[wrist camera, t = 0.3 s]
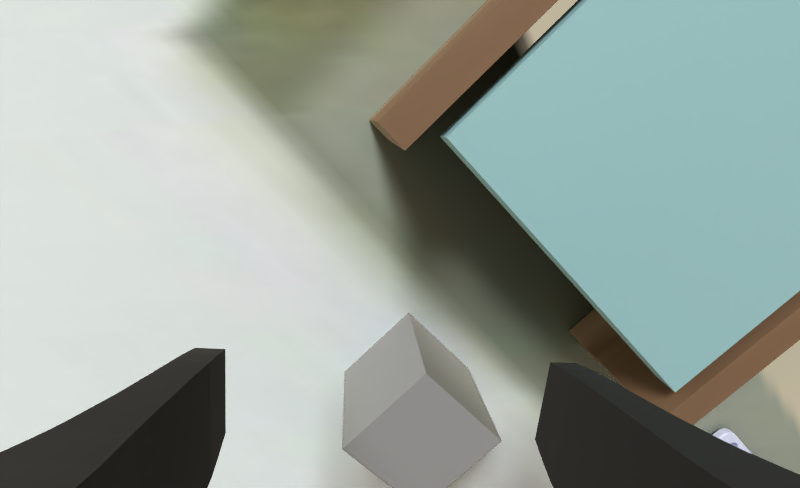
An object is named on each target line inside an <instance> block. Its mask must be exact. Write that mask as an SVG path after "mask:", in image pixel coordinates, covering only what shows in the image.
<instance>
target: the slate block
mask: <svg viewBox="0 0 800 488" xmlns="http://www.w3.org/2000/svg"><path fill="white" fill-rule="evenodd" d="M500 442H501V439H500V437H499V434H498V432H497V430H496V428H495V426H494V423H493V421H492V419H491V417H490V415H489V413H488V410H487V408H486V406H485V404H484V402H483V400H482V397H481V395H480V393H479V391H478V389H477V386H476V384H475V382H474V380H473V378H472V376H471V373H470V371H469V369H468V367H466V366H465V365H464V364H463V363H462V362H461V361H460V360H459V359H458V358H457V357H456V356H455V355H454V354H453V353H451V352H450V351H449V350H448V349H447V348H446V347H445V346H444V345H443V344H442V343H441V342H440V341H439V340H438V339H437V338H435V337H434V336H433V335H432V334H431V333H430V332H429V331H428V330H427V329H426V328H425V327H424V326H423V325H422V324H420V323H419V322H418V321H417V320H416V319H415V318H414V317H413V316H412V315H411V314H410V313H408V314H407V315H406V316H405V317H404V318H403V319H401V320H400V321H399V322H398V323H397V324H396V325H395V326H394V327H393V328H392V329H391V330H390V331H388V332H387V333H386V334H385V335H384V336H383V337H382V338H381V339H380V340H379V341H378V342H377V343H376V344H374V345H373V346H372V347H371V348H370V349H369V350H368V351H367V352H366V353H365V354H364V355H363V356H361V357H360V358H359V359H358V360H357V361H356V362H355V363H354V364H353V365H352V366H351V367H350V368H348V369H347V370H346V371H345V380H344V411H343V441H342V449H343V450H344V451H345V452H347V453H348V454H349V455H350V456H352V457H353V458H354V459H356V460H357V461H358V462H359V463H361V464H362V465H363V466H365V467H366V468H367V469H368V470H370V471H371V472H372V473H374V474H375V475H376V476H377V477H379V478H380V479H381V480H383V481H384V482H385V483H386V484H388V485H389V486H390V487H392V488H447V487H448V486H449V485H451V484H452V483H453V482H454V481H455V480H456V479H458V478H459V477H460V476H461V475H462V474H463V473H465V472H466V471H467V470H468V469H469V468H471V467H472V466H473V465H474V464H475V463H476V462H478V461H479V460H480V459H481V458H482V457H483V456H485V455H486V454H487V453H488V452H489V451H490V450H492V449H493V448H494V447H495V446H496V445H497V444H499V443H500Z"/></svg>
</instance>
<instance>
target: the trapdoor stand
mask: <svg viewBox="0 0 800 488" xmlns="http://www.w3.org/2000/svg"><path fill="white" fill-rule="evenodd" d="M556 2H557V0H488V1H487V2H486V3H485V4H484V5H483V6H482V7H481V8H480V9H479V10H478V11H477V12H476V13H475V14H474V15H473V16H472V17H471V18H470V19H469V20H468V21H467V22H466V23H465V24H464V25H463V26H462V27H461V28H460V29H459V30H458V31H457V32H456V33H455V34H454V35H453V36H452V37H451V38H450V39H449V40H448V41H447V42H446V43H445V44H444V45H443V46H442V47H441V48H440V49H439V50H438V51H437V52H436V53H435V54H434V55H433V56H432V57H431V58H430V59H429V60H428V61H427V62H426V63H425V64H424V65H423V66H422V67H421V68H420V69H419V70H418V71H417V72H416V73H415V74H414V75H413V76H412V77H411V79H410V80H409V81H408V82H407V83H406V84H405V85H404V86H403V87H402V88H401V89H400V90H399V91H398V92H397V93H396V94H395V95H394V96H393V97H392V98H391V99H390V100H389V101H388V102H387V103H386V104H385V105H384V106H383V107H382V108H381V109H380V110H379V111H378V112H377V113H376V114H375V115H374V116H373V117H372V118H371V119H370V121H371V123H372V124H373V125H374V126H375V127H376V128H377V129H378V130H379V131H380V132H381V133H382V134H383V135H384V136H385V137H386V138H387V139H388V140H389V141H391V142H392V143H394V144H395V145H397V146H398V147H400V148H401V149H403V150H404V151H405V150H406V149H407V148H408V147H409V146H410V145H411V144H412V143H413V142H415V141H416V140H417V139H418V138H419V137H420V136H421V135H422V134H423V133H424V132H425V131H426V130H427V129H428V128H429V127H430V126H431V125H432V124H433V123H434V122H435V121H436V120H437V119H438V118H439V117H440V116H441V115H442V114H443V113H444V112H445V111H446V110H447V109H448V108H449V107H450V106H451V105H452V104H453V103H454V102H455V101H456V100H457V99H458V98H459V97H460V96H461V95H462V94H463V93H464V92H465V91H466V90H467V89H468V88H469V87H470V86H471V85H472V84H473V83H474V82H475V81H476V80H477V79H478V78H479V77H480V76H482V75H483V74H484V73H485V72H486V71H487V70H488V69H489V68H490V67H491V66H492V65H493V64H494V63H495V62H496V61H497V60H498V59H499V58H500V57H501V56H502V55H503V54H504V53H505V52H506V51H507V50H508V49H509V48H510V47H511V46H512V45H513V44H514V43H515V42H516V41H517V40H518V39H519V38H520V37H521V36H522V35H523V34H524V33H525V32H526V31H527V30H528V29H529V28H530V27H531V26H532V25H533V24H534V23H535V22H536V21H537V20H538V19H539V18H540V17H541V16H542V15H543V14H544V13H545V12H546V11H547V10H548V9H550V8H551V6H553V5H554V4H555V3H556ZM569 332H570V333H571V334H572V336H573V337H574V338H575V339H576V340H577V341H578V342H579V343H580V344H581V345H582V346H583V347H584V348H585V349H586V350H587V351H588V352H589V353H590V354H591V355H592V356H593V357H594V358H595V359H596V360H597V361H598V362H599V363H600V364H601V365H602V366H603V367H604V368H605V369H606V370H607V371H608V372H609V373H610V374H611V375H612V376H613V377H614V378H615V379H616V380H617V381H618V382H619V383H620V384H621V385H622V386H623V387H624V388H626V389H627V390H629V391H631V392H633V393H635V394H636V395H638V396H640V397H642V398H643V399H645V400H647V401H649V402H651V403H652V404H654V405H656V406H658V407H660V408H662V409H663V410H665V411H667V412H669V413H671V414H673V415H674V416H676V417H678V418H680V419H682V420H684V421H686V422H688V423H689V424H691V425H694V424H695V423H696V422H698V421H699V420H700V419H701V418H703V417H704V416H705V415H706V414H708V413H709V412H710V411H711V410H713V409H714V408H715V407H716V406H717V405H719V404H720V403H721V402H722V401H724V400H725V399H726V398H727V397H729V396H730V395H731V394H732V393H734V392H735V391H736V390H737V389H739V388H740V387H741V386H742V385H744V384H745V383H746V382H747V381H749V380H750V379H751V378H752V377H754V376H755V375H756V374H757V373H759V372H760V371H761V370H762V369H764V368H765V367H766V366H767V365H769V364H770V363H771V362H772V361H773V360H775V359H776V358H777V357H779V356H780V355H781V354H782V353H783V352H785V351H786V350H787V349H789V348H790V347H791V346H792V345H793V344H795V343H796V342H797V341H798V340H800V291H799V292H798V293H796V294H795V295H794V296H793V297H792V298H790V299H789V300H788V301H787V302H785V303H784V304H783V305H782V306H781V307H779V308H778V309H777V310H776V311H774V312H773V313H772V314H771V315H770V316H768V317H767V318H766V319H765V320H763V321H762V322H761V323H760V324H759V325H757V326H756V327H755V328H754V329H752V330H751V331H750V332H749V333H748V334H746V335H745V336H744V337H743V338H741V339H740V340H739V341H738V342H737V343H735V344H734V345H733V346H732V347H730V348H729V349H728V350H727V351H726V352H724V353H723V354H722V355H721V356H719V357H718V358H717V359H716V360H715V361H713V362H712V363H711V364H710V365H708V366H707V367H706V368H705V369H703V370H702V371H701V372H700V373H699V374H697V375H696V376H695V377H694V378H692V379H691V380H690V381H689V382H688V383H686V384H685V385H684V386H683V387H681V388H680V389H679V390H678V391H677V392H674V391H673V390H672V389H671V388H669V387H668V386H667V385H666V384H665V383H664V382H662V381H661V380H660V379H659V378H658V377H657V376H655V375H654V373H653V372H652V371H651V370H650V369H649V368H648V367H647V366H646V365H645V363H644V362H643V361H642V360H641V359H640V358H639V357H638V356H637V355H636V353H635V352H634V351H633V350H632V349H631V348H630V347H629V346H628V345H627V344H626V342H625V341H624V340H623V339H622V338H621V337H620V336H619V335H618V334H617V332H616V331H615V330H614V329H613V328H612V327H611V326H610V325H609V324H608V322H607V321H606V320H605V319H604V318H603V317H602V316H601V315H600V314H599V312H598V311H597V310H596V309H595V308H594V309H593V310H592V311H591V312H590V313H589V314H587V315H586V316H585V317H584V318H583V319H582V320H581V321H579V322H578V323H577V324H576V325H575V326H574V327H572V328H571V329H570V330H569Z"/></svg>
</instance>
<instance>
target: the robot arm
mask: <svg viewBox="0 0 800 488" xmlns="http://www.w3.org/2000/svg"><path fill="white" fill-rule="evenodd" d="M224 436H225V349H207V348H194V349H192V350H190V351H188V352H186V353H185V354H183V355H181V356H179V357H178V358H176V359H174V360H173V361H171V362H169V363H168V364H166V365H164V366H163V367H161V368H159V369H158V370H156V371H154V372H153V373H151V374H149V375H148V376H146V377H144V378H143V379H141V380H139V381H138V382H136V383H134V384H133V385H131V386H129V387H127V388H126V389H124V390H122V391H121V392H119V393H117V394H115V395H114V396H112V397H110V398H108V399H106V400H104V401H103V402H101V403H99V404H97V405H95V406H93V407H92V408H90V409H88V410H86V411H84V412H82V413H81V414H79V415H77V416H75V417H73V418H71V419H69V420H68V421H66V422H64V423H62V424H60V425H58V426H56V427H54V428H52V429H50V430H48V431H46V432H44V433H42V434H40V435H37V436H35V437H33V438H31V439H29V440H27V441H25V442H22V443H20V444H18V445H16V446H13V447H11V448H9V449H7V450H5V451H2V452H0V488H207V487H208V485H209V482H210V480H211V477H212V474H213V471H214V468H215V465H216V462H217V459H218V456H219V452H220V449H221V446H222V442H223V439H224ZM535 440H536V443H537V446H538V449H539V452H540V454H541V457H542V460H543V463H544V466H545V468H546V471H547V473H548V476H549V479H550V481H551V483H552V485H553V487H554V488H800V475H799V474H797V473H794V472H792V471H789V470H787V469H785V468H783V467H780V466H778V465H776V464H773V463H771V462H769V461H767V460H764V459H762V458H760V457H758V456H755V455H753V454H752V453H751V452H750V451H749V450H748V449H747V447H746V446H745V445H744V444H743V443H742V442H741V441H740V439H739V438H738V437H737V436H736V435H735V434H734V433H733V432H732V431H730V430H729V429H726V428H723V429H720V430H718V431H716V432H715V433H714V434H713V435H711V434H709V433H707V432H705V431H703V430H701V429H699V428H697V427H695V426H693V425H691V424H689V423H688V422H686V421H684V420H682V419H680V418H678V417H676V416H674V415H673V414H671V413H669V412H667V411H665V410H663V409H662V408H660V407H658V406H656V405H654V404H652V403H651V402H649V401H647V400H645V399H643V398H642V397H640V396H638V395H636V394H635V393H633V392H631V391H629V390H627V389H626V388H624V387H622V386H620V385H618V384H617V383H615V382H613V381H611V380H609V379H607V378H606V377H604V376H602V375H600V374H598V373H596V372H594V371H592V370H590V369H588V368H586V367H583V366H581V365H578V364H576V363H552V362H550V367H549V372H548V377H547V382H546V387H545V392H544V397H543V402H542V408H541V413H540V418H539V423H538V428H537V433H536V438H535Z"/></svg>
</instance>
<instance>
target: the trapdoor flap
mask: <svg viewBox="0 0 800 488" xmlns="http://www.w3.org/2000/svg"><path fill="white" fill-rule="evenodd" d="M440 137H441V138H442V139H443V140H444V141H445V143H446V144H447V145H448V146H449V147H450V148H451V149H452V150H453V151H454V153H455V154H456V155H457V156H458V157H459V158H460V159H461V160H462V161H463V163H464V164H465V165H466V166H467V167H468V168H469V169H470V170H471V171H472V173H473V174H474V175H475V176H476V177H477V178H478V179H479V180H480V181H481V183H482V184H483V185H484V186H485V187H486V188H487V189H488V190H489V191H490V193H491V194H492V195H493V196H494V197H495V198H496V199H497V200H498V201H499V203H500V204H501V205H502V206H503V207H504V208H505V209H506V210H507V211H508V213H509V214H510V215H511V216H512V217H513V218H514V219H515V220H516V221H517V223H518V224H519V225H520V226H521V227H522V228H523V229H524V230H525V231H526V233H527V234H528V235H529V236H530V237H531V238H532V239H533V240H534V241H535V243H536V244H537V245H538V246H539V247H540V248H541V249H542V250H543V251H544V252H545V254H546V255H547V256H548V257H549V258H550V259H551V260H552V261H553V262H554V264H555V265H556V266H557V267H558V268H559V269H560V270H561V271H562V272H563V274H564V275H565V276H566V277H567V278H568V279H569V280H570V281H571V282H572V284H573V285H574V286H575V287H576V288H577V289H578V290H579V291H580V292H581V294H582V295H583V296H584V297H585V298H586V299H587V300H588V301H589V302H590V304H591V305H592V306H593V307H594V308H595V309H596V310H597V311H598V312H599V314H600V315H601V316H602V317H603V318H604V319H605V320H606V321H607V322H608V324H609V325H610V326H611V327H612V328H613V329H614V330H615V331H616V332H617V334H618V335H619V336H620V337H621V338H622V339H623V340H624V341H625V342H626V344H627V345H628V346H629V347H630V348H631V349H632V350H633V351H634V352H635V353H636V355H637V356H638V357H639V358H640V359H641V360H642V361H643V362H644V363H645V365H646V366H647V367H648V368H649V369H650V370H651V371H652V372H653V373H654V375H655V376H657V377H658V378H659V379H660V380H661V381H662V382H664V383H665V384H666V385H667V386H668V387H669V388H671V389H672V390H673V391H674V392H677V391H678V390H679V389H680V388H681V387H683V386H684V385H685V384H686V383H688V382H689V381H690V380H691V379H692V378H694V377H695V376H696V375H697V374H699V373H700V372H701V371H702V370H703V369H705V368H706V367H707V366H708V365H710V364H711V363H712V362H713V361H715V360H716V359H717V358H718V357H719V356H721V355H722V354H723V353H724V352H726V351H727V350H728V349H729V348H730V347H732V346H733V345H734V344H735V343H737V342H738V341H739V340H740V339H741V338H743V337H744V336H745V335H746V334H748V333H749V332H750V331H751V330H752V329H754V328H755V327H756V326H757V325H759V324H760V323H761V322H762V321H763V320H765V319H766V318H767V317H768V316H770V315H771V314H772V313H773V312H774V311H776V310H777V309H778V308H779V307H781V306H782V305H783V304H784V303H785V302H787V301H788V300H789V299H790V298H792V297H793V296H794V295H795V294H796V293H798V292H799V291H800V0H578V1H577V2H576V3H575V4H574V5H573V6H572V7H571V8H570V9H569V10H568V11H567V12H566V13H565V14H564V15H563V16H562V17H561V18H560V19H558V20H557V21H556V22H555V24H553V25H552V26H551V27H550V28H549V29H548V30H547V31H546V32H545V33H544V34H543V35H542V36H541V37H540V38H539V39H538V40H537V41H536V42H535V43H534V44H533V45H532V46H531V47H530V48H529V49H528V50H527V51H526V52H525V53H524V54H523V55H522V56H521V57H520V58H519V59H518V60H517V61H516V62H515V63H514V64H512V65H511V66H510V67H509V68H508V69H507V70H506V71H505V72H504V73H503V74H502V75H501V76H500V77H499V78H498V79H497V80H496V81H495V82H494V83H493V84H492V85H491V86H490V87H489V88H488V89H487V90H486V91H485V92H484V93H483V94H482V95H481V96H480V97H479V98H478V99H477V100H476V101H475V102H474V103H473V104H472V105H471V106H470V107H469V108H468V109H466V110H465V111H464V112H463V113H462V114H461V115H460V116H459V117H458V118H457V119H456V120H455V121H454V122H453V123H452V124H451V125H450V126H449V127H448V128H447V129H446V130H445V131H444V132H443V133H442V134H441V135H440Z"/></svg>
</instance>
